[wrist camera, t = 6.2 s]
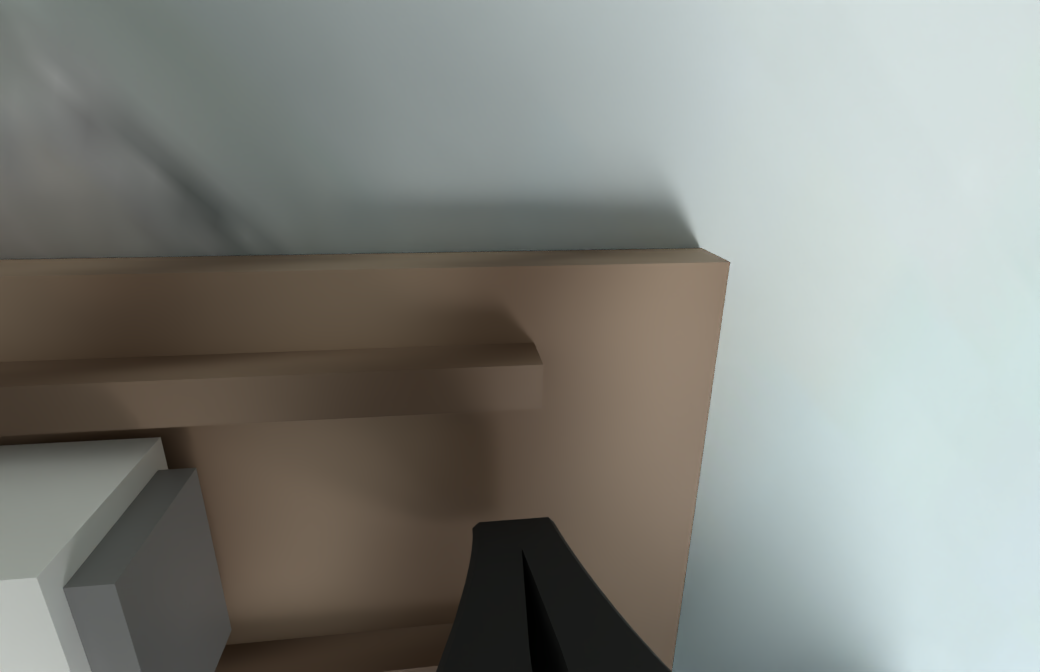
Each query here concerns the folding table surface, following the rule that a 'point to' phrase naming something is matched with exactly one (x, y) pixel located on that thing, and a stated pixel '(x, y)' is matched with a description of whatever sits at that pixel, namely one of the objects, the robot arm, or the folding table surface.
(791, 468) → the folding table surface
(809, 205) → the folding table surface
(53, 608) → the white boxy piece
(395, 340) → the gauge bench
